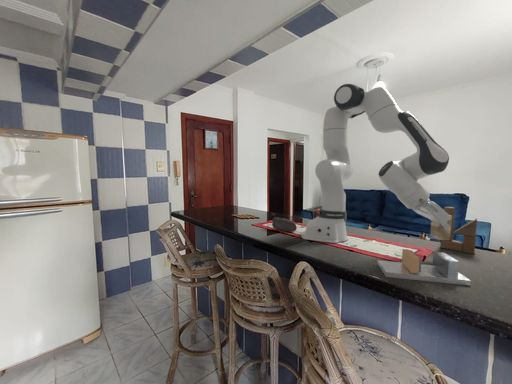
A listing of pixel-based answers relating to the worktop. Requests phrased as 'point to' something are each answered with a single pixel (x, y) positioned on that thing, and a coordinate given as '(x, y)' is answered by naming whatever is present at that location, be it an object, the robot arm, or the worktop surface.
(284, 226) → the perforated stone tool
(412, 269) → the block
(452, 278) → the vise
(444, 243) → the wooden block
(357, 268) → the worktop surface
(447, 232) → the beech block
